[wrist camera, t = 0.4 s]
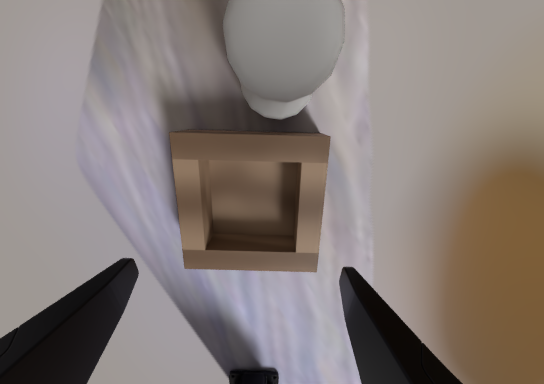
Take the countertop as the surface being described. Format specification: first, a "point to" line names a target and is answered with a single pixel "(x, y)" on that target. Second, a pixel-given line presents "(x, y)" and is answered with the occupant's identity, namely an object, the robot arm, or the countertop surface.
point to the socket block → (250, 198)
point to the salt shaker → (282, 50)
